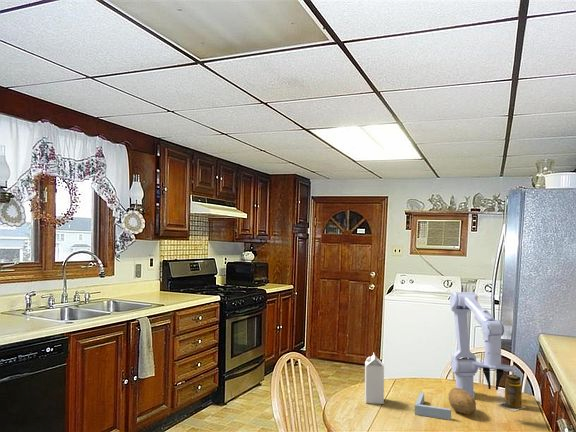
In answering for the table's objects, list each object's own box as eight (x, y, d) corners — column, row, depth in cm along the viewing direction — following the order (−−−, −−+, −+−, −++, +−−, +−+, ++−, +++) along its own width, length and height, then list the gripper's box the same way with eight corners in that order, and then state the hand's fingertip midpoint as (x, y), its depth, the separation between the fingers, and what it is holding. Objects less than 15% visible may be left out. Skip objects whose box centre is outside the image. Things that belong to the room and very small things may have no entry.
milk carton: (381, 398, 195) (382, 352, 196) (383, 404, 188) (383, 356, 189) (364, 397, 196) (365, 351, 196) (365, 403, 188) (366, 356, 189)
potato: (457, 419, 173) (457, 397, 173) (443, 405, 187) (443, 385, 188) (483, 419, 173) (482, 397, 174) (467, 405, 188) (467, 385, 188)
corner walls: (420, 400, 192) (420, 392, 192) (453, 405, 187) (453, 396, 187) (414, 414, 177) (414, 405, 178) (450, 420, 172) (450, 410, 173)
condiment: (526, 407, 186) (526, 377, 187) (514, 411, 182) (514, 380, 182) (509, 401, 193) (508, 372, 193) (497, 405, 188) (496, 375, 188)
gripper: (472, 352, 176) (472, 389, 176) (514, 357, 171) (515, 394, 170) (472, 348, 183) (472, 383, 182) (513, 352, 177) (513, 389, 176)
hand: (493, 388), depth 177 cm, fingers closed
